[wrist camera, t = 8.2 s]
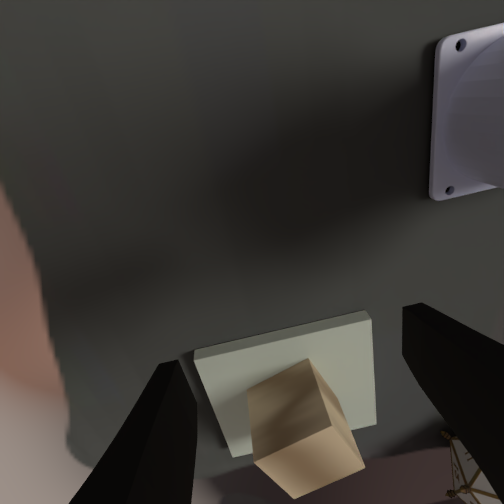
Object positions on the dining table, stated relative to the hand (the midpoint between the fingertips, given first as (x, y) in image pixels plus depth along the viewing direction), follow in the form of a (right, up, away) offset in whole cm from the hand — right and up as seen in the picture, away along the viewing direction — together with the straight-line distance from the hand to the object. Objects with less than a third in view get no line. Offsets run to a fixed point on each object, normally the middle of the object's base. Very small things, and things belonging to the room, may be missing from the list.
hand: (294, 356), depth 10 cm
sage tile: (+2, -7, +14) cm, 16 cm away
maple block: (+2, -7, +13) cm, 15 cm away
